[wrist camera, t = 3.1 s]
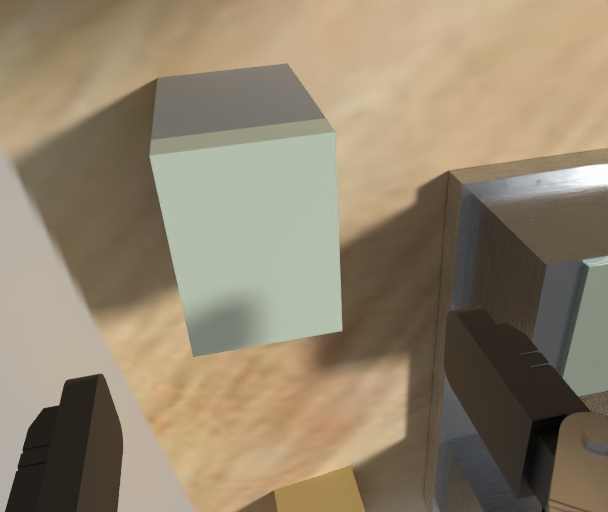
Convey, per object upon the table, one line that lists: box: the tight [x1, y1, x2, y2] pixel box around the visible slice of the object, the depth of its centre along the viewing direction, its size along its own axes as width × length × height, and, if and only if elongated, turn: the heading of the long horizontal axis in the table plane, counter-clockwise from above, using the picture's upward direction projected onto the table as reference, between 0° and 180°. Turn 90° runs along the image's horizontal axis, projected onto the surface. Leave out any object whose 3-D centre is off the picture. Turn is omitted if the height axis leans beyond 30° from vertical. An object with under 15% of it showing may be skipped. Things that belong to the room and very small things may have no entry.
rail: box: [424, 148, 608, 512], centre depth 30 cm, size 24×8×8 cm, turn 4°
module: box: [149, 64, 342, 357], centre depth 21 cm, size 7×5×8 cm
